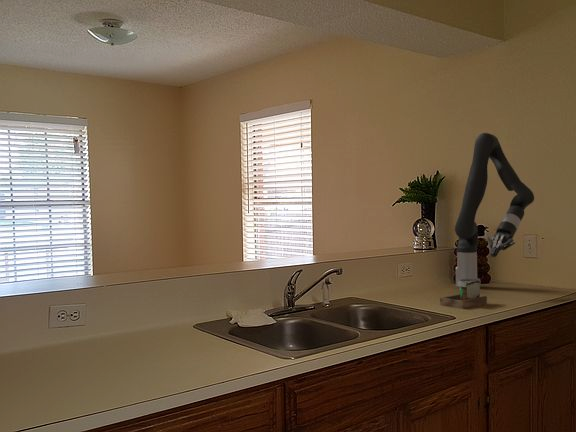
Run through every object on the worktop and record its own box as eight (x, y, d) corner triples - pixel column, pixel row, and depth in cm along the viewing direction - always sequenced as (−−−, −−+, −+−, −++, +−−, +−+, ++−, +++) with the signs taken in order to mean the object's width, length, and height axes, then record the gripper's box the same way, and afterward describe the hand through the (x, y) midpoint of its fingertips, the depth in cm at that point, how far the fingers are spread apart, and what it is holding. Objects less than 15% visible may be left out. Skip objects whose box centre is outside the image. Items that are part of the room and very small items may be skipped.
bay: (440, 305, 219) (439, 297, 219) (463, 300, 229) (463, 293, 229) (463, 309, 211) (463, 301, 210) (486, 303, 220) (486, 296, 220)
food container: (467, 300, 227) (467, 277, 227) (481, 302, 222) (480, 278, 222) (452, 305, 219) (451, 280, 218) (466, 307, 214) (465, 282, 214)
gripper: (491, 220, 243) (475, 249, 237) (519, 221, 232) (502, 251, 226) (498, 231, 247) (482, 260, 240) (525, 232, 236) (510, 262, 229)
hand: (492, 255), depth 233 cm, fingers closed
